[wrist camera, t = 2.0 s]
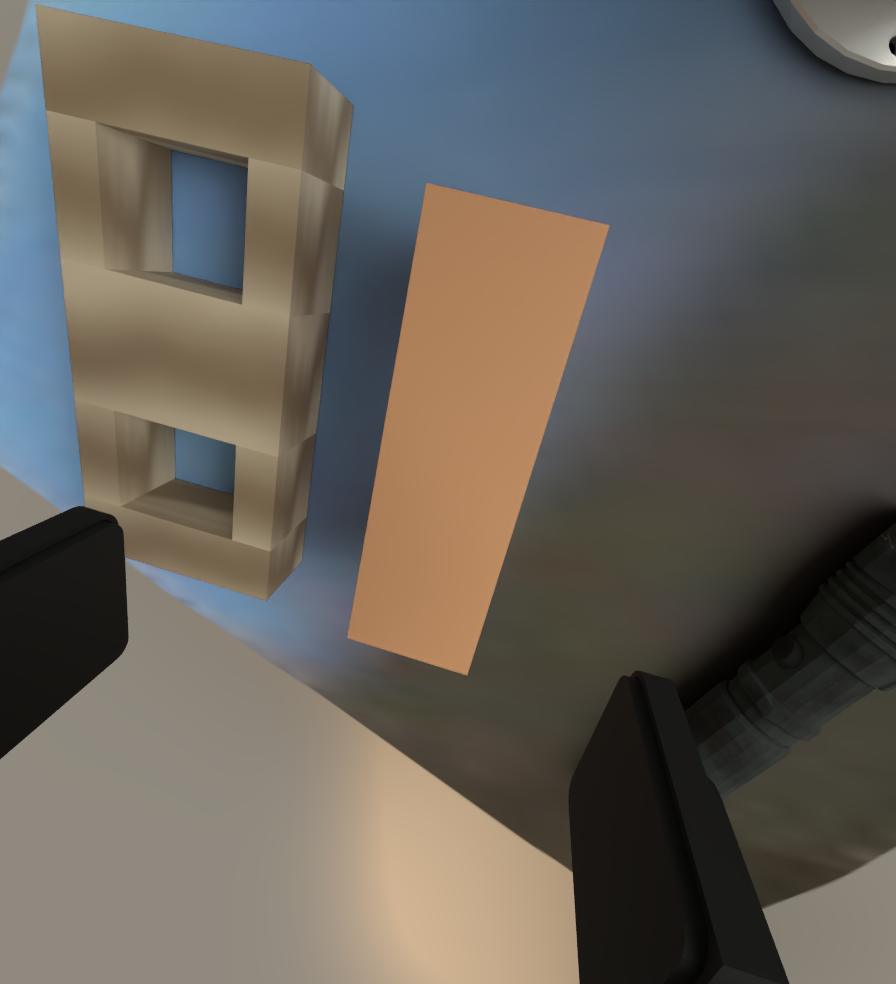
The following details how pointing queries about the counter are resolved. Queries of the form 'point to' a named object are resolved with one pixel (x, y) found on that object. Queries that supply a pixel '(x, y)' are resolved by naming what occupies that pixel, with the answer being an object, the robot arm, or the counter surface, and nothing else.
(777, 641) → the flashlight
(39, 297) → the counter surface
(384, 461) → the tan wedge board
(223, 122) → the slotted tan block
